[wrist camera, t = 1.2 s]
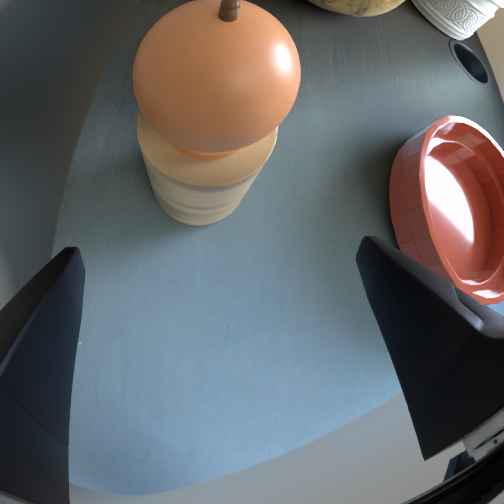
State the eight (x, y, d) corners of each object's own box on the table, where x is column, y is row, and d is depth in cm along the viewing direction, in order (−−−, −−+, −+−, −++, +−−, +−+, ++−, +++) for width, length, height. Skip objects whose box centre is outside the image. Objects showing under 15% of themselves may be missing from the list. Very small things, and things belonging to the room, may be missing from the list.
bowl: (507, 277, 30) (538, 274, 25) (410, 329, 26) (448, 334, 21) (470, 135, 31) (497, 121, 26) (360, 136, 27) (389, 111, 22)
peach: (286, 169, 15) (368, 76, 7) (151, 193, 14) (122, 94, 6) (255, 66, 15) (297, -43, 8) (137, 81, 14) (121, -38, 6)
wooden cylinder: (255, 215, 24) (294, 174, 15) (161, 235, 22) (146, 201, 14) (234, 132, 24) (259, 62, 16) (146, 147, 23) (131, 78, 14)
